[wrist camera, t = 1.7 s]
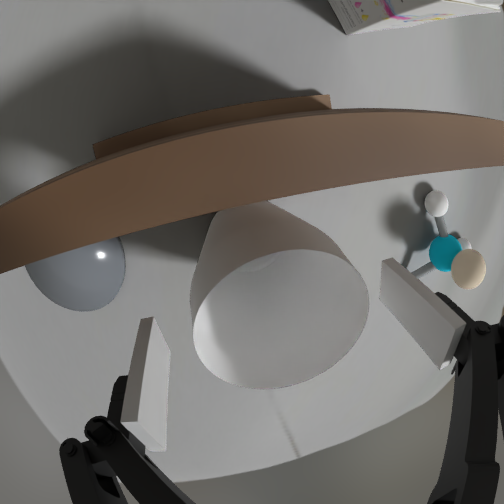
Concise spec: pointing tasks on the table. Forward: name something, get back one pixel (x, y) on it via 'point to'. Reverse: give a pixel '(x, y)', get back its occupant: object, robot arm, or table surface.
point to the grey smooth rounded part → (81, 275)
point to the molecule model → (451, 249)
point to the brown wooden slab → (235, 167)
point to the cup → (273, 299)
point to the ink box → (403, 12)
